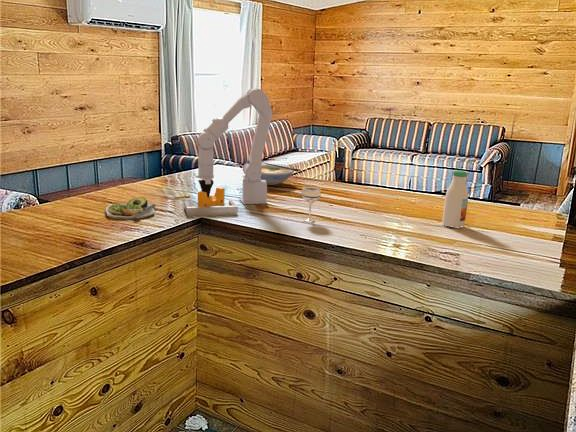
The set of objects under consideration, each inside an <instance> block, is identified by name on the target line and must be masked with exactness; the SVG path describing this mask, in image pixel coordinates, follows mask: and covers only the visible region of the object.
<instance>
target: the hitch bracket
mask: <svg viewBox="0 0 576 432" xmlns="http://www.w3.org/2000/svg"><path fill="white" fill-rule="evenodd" d="M183 204H184V207H183V209H184V211H185V213H186V217H200V216H201V217H204V216H205V217H206V216H209V217H210V216H233V215H238V207H239V206H238V205H236V203H235V202H234V201H233V199H230V200H228V205H219V206H203V207H198V206H190V204H189V201H184V202H183Z"/></svg>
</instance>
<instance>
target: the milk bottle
mask: <svg viewBox="0 0 576 432" xmlns="http://www.w3.org/2000/svg"><path fill="white" fill-rule="evenodd" d="M467 175H468V172H467V171H466V170H461V169H459V170H458V169H456V170H453V172H452V180H451V182H450V184H449V187H448V188H447V190H446V193H445V196H444V197H445V198H444V204H443V213H442V223H443V224H444V225H447V226H453V227H461V226H464V227H465V223H466V219H467V218H466V217H467V211H468V201H469V191H468V187H467V183H466V179H467ZM443 224H442V225H443ZM444 225H443V226H444Z"/></svg>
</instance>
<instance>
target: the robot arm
mask: <svg viewBox="0 0 576 432" xmlns="http://www.w3.org/2000/svg"><path fill="white" fill-rule="evenodd" d="M252 106H253V108H254V109H255V111H256V112H257V114H258V119H257V123H256V128H255V131H254V135H253V138H252V143H251V148H250V153H249V154H248V157H247V159H246V162H245V163H244V165H243V167H242V172H243V174H244V177H243V178H242V198H239V201H241V202H242V204H243V205H257V204H258V205H260V204H268V202H267V199H268V198H267V197H268V186H267V182H266V180H261V178H260V177H261V175H262V171H261V165H262V164H263V161H262V159H263V153H264V150H265V146H266V142H267V138H268V135H269V134H268V133H269V130H270V126H271V122H272V118H273V109H272V106H271V103H270V101H269V96H268V95H267V94H266V93H265V91H264V90H262V89H260V88H257V87H252V88H249V89H248V91H247V92H245V93H244V94H243V95H241V96H240V97H239V98H238V99H237V100H236V101H235V103H234V104H233V105H232V106H231V107H230V108H229V109H228V110H227V111H226V113H225V114H224V115H223V116H221V117H216V118H213V119H212V120H211V121H212V123H210V125H209V126H208V127H206V128H204V129H203V132H201V133H200V134H199V135H198V137H197V142H198V154H197V158H198V159H197V160H198V163H197V165H198V167H197V168H198V174H195V177H194V178H198V180H197V181H198V183H199V187H200V190H201V191H203V192H207V197H208V198H209V197H210V196H211V195H210V194H211V190H212V187H213V185H214V182H215V181H214V180H213V179H214V177H215V175H214V145H215V141H217V140H219V139H220V137H222V135H224V134H225V132H226V131H227V130H228V129H229V124H230V122H231V121H233V119H234V118H235V117H237V115H239V114H240V113H241V112H242V111H243V110H245V109H249V108H252Z"/></svg>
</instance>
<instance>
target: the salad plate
mask: <svg viewBox="0 0 576 432" xmlns="http://www.w3.org/2000/svg"><path fill="white" fill-rule="evenodd" d="M155 207H157V204H154V203H152V204H149V203H148V200H147V198H145V197H143V196H142V197H141V196H139V197H134V198H131V199H130V200H128V202H127V203H125V204H122V203H121V204H120V203H115V204H111V205H108V206H106V207H105V214H106V215H107V216H108V217H109V218H111V219H114V220H122V221H123V220H124V221H125V220H126V221H127V219H128V220H139V219H144V218H148V217H151V216H153V215H154V214H155V213H156V212H155V209H154V208H155ZM119 215H122V216H119Z"/></svg>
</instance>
